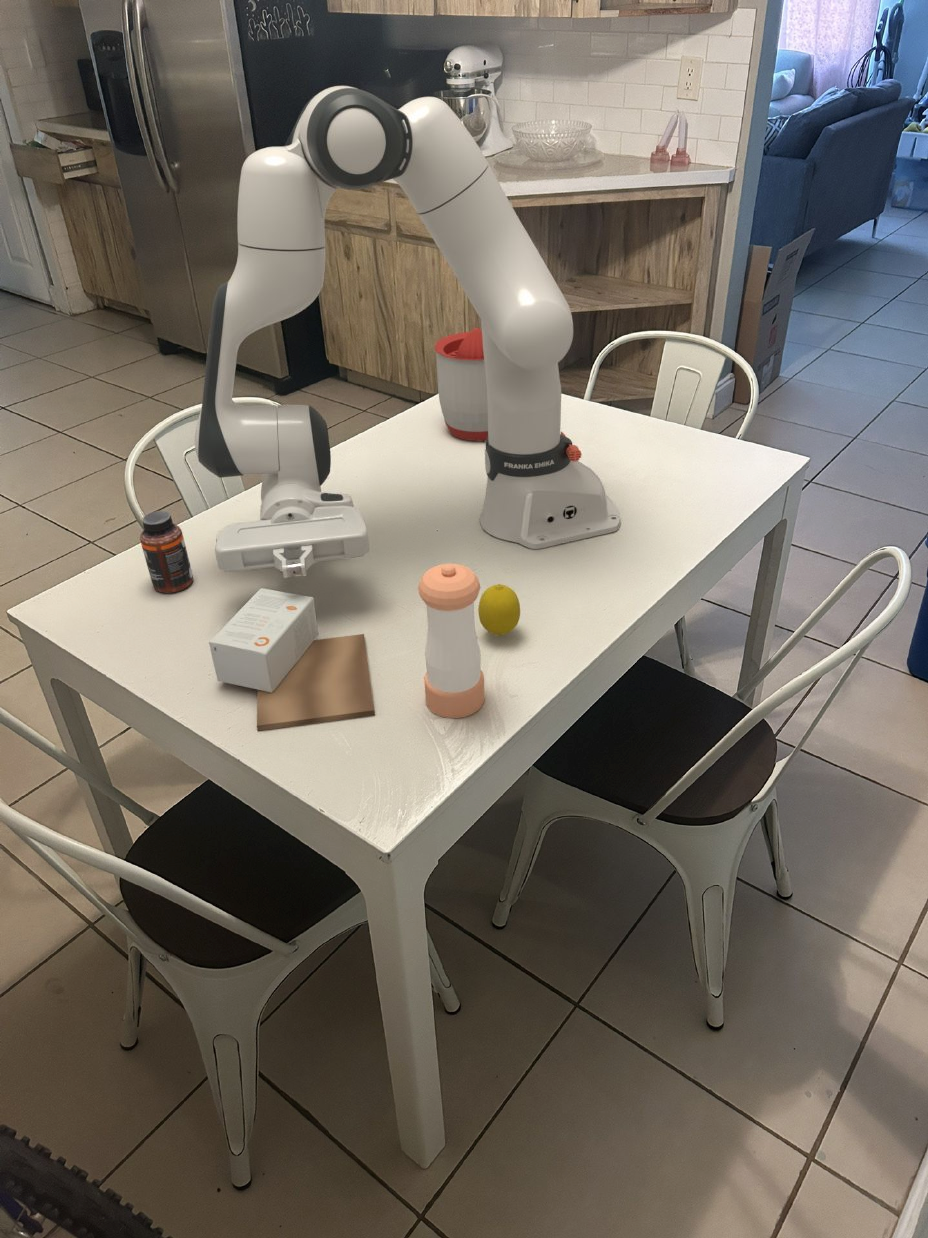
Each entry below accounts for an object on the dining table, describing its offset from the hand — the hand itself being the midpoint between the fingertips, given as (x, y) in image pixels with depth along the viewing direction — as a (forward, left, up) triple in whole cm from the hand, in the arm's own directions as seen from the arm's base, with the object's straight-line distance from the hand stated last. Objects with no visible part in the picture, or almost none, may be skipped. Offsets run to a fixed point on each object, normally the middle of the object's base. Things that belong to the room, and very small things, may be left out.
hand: (294, 572), depth 118 cm
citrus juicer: (-36, -63, -11) cm, 73 cm away
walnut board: (-1, +9, -11) cm, 14 cm away
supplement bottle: (+19, -19, -11) cm, 29 cm away
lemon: (-26, +4, -11) cm, 29 cm away
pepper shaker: (-18, +16, -11) cm, 27 cm away
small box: (+1, -2, -7) cm, 8 cm away
